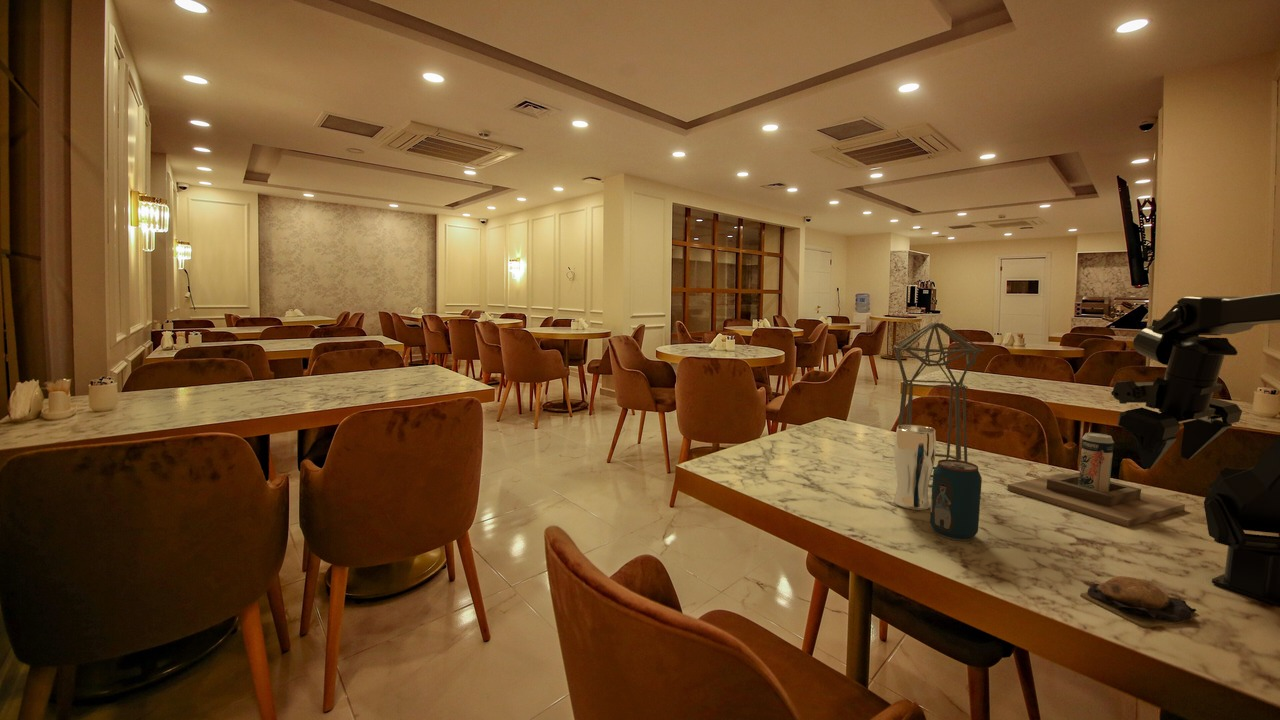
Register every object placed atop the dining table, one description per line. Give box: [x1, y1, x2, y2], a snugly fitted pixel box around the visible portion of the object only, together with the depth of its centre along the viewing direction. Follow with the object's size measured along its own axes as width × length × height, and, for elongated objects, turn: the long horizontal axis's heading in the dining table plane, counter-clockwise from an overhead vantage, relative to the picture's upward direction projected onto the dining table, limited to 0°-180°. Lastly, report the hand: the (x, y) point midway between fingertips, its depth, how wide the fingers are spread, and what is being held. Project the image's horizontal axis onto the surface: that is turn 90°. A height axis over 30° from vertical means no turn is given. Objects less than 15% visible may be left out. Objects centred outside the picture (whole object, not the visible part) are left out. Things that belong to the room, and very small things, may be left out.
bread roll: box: [1079, 575, 1198, 628], centre depth 66 cm, size 11×8×4 cm
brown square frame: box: [1006, 472, 1186, 528], centre depth 103 cm, size 20×20×3 cm
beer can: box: [1078, 432, 1115, 493], centre depth 102 cm, size 5×5×12 cm
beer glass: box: [893, 424, 937, 511], centre depth 99 cm, size 7×7×15 cm
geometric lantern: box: [892, 322, 986, 488], centre depth 112 cm, size 16×16×35 cm
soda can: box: [929, 458, 983, 542], centre depth 86 cm, size 7×7×12 cm
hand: (1165, 463), depth 86 cm, fingers open, 9 cm apart
